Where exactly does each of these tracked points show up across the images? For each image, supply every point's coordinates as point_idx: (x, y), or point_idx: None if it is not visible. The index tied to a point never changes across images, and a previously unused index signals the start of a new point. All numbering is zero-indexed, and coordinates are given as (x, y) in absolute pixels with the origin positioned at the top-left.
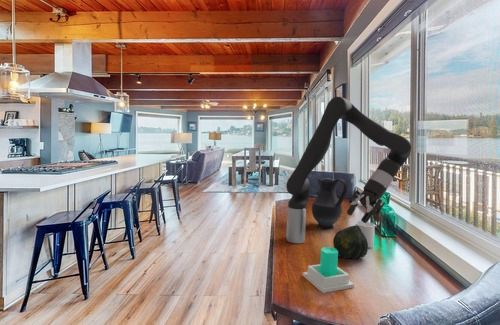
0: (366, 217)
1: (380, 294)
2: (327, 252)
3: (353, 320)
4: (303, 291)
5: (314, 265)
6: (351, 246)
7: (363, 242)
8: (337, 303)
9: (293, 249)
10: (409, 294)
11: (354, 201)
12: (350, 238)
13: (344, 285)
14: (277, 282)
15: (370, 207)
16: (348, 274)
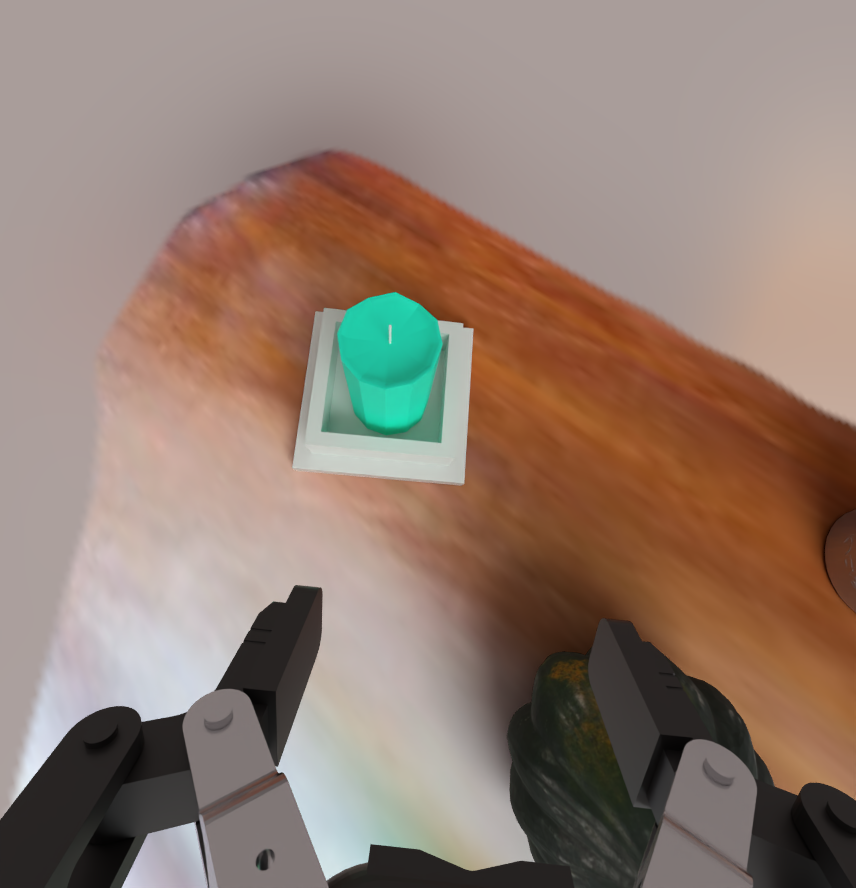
0: (251, 638)
1: (195, 539)
2: (380, 319)
3: (130, 296)
4: (359, 263)
5: (455, 354)
6: (542, 697)
7: (542, 830)
8: (235, 320)
9: (747, 470)
10: (122, 682)
11: (726, 841)
12: (587, 725)
13: (302, 417)
14: (456, 217)
15: (202, 824)
16: (309, 443)
